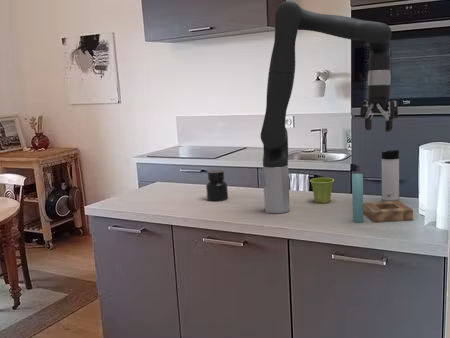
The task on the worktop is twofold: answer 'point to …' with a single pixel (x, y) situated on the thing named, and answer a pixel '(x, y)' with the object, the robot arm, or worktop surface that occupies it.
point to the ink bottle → (216, 186)
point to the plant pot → (322, 189)
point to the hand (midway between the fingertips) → (378, 130)
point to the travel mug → (390, 176)
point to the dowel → (357, 197)
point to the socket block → (387, 211)
